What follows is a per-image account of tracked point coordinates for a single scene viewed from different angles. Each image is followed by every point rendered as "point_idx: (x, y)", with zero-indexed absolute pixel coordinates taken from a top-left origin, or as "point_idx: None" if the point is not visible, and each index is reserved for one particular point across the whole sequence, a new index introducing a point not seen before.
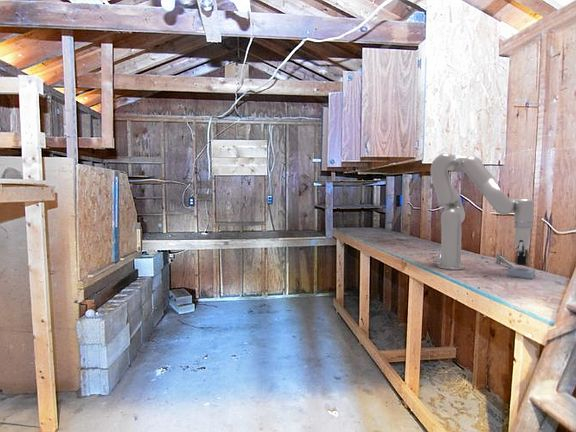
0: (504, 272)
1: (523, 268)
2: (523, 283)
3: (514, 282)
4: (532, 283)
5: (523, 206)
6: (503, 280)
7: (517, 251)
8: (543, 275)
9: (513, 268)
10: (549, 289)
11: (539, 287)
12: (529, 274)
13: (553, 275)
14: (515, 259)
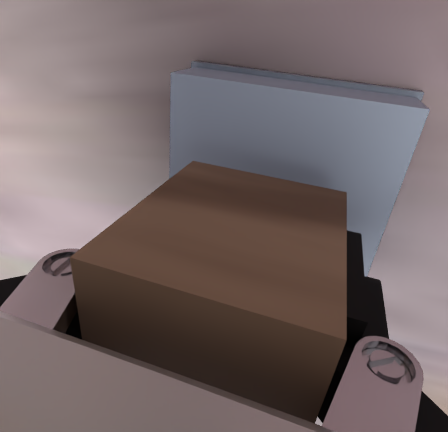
0: (397, 3)
1: (357, 228)
2: (35, 175)
3: (16, 122)
4: (76, 224)
5: None
6: (10, 41)
7: (182, 306)
8: (404, 337)
9: (294, 124)
10: (15, 276)
11: (16, 243)
12: None
13: (441, 396)
14: (159, 188)
